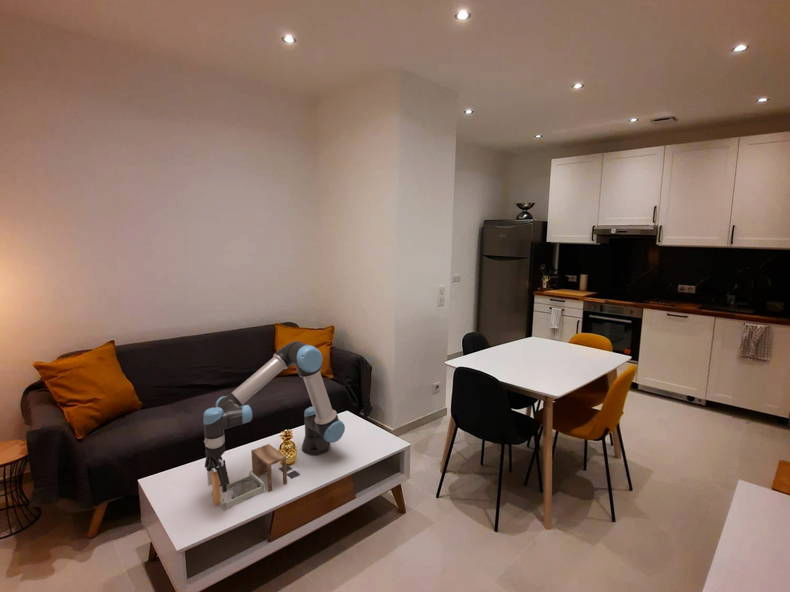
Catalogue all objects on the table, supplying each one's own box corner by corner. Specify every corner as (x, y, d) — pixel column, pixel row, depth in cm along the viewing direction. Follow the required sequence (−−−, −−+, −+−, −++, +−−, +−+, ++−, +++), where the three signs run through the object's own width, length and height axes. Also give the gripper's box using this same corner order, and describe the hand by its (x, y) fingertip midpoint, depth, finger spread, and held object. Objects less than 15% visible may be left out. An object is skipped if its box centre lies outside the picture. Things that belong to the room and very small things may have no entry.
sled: (251, 479, 196) (250, 452, 194) (264, 490, 187) (263, 462, 185) (208, 497, 182) (207, 468, 180) (220, 510, 173) (218, 480, 171)
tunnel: (269, 469, 204) (268, 443, 202) (287, 483, 193) (286, 456, 191) (252, 477, 198) (251, 450, 196) (269, 492, 187) (268, 463, 185)
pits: (287, 465, 209) (287, 464, 209) (300, 474, 200) (300, 474, 200) (278, 468, 205) (278, 468, 205) (291, 478, 197) (291, 478, 197)
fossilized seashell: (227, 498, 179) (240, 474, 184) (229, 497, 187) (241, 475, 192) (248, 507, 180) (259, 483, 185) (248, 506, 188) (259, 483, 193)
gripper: (194, 437, 181) (197, 482, 184) (217, 459, 163) (220, 508, 166) (212, 431, 186) (214, 475, 189) (236, 452, 169) (239, 500, 172)
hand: (217, 491), depth 178 cm, fingers open, 13 cm apart
